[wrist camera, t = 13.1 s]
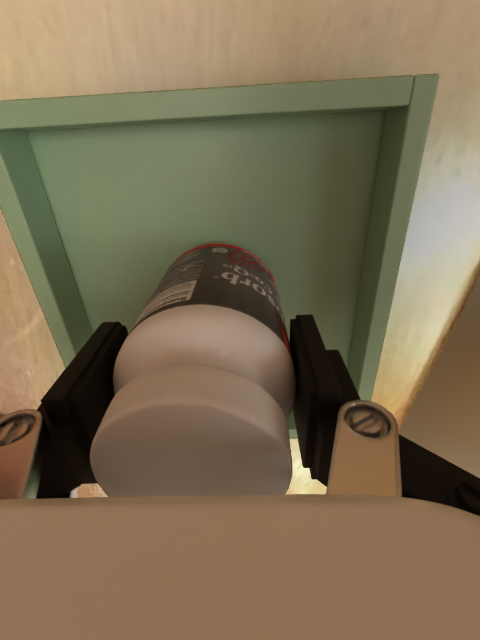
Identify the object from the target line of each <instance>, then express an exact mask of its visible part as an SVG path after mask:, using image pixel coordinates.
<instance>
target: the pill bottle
mask: <svg viewBox="0 0 480 640" xmlns="http://www.w3.org/2000/svg"><path fill="white" fill-rule="evenodd" d="M113 388H114V395H115V396H114V398H113V399H112V401H111V403H110V405H109V407H108V409H107V411H106V413H105V415H104V417H103V419H102V421H101V424H100V426H99V428H98V430H97V432H96V435H95V437H94V439H93V441H92V446H91V450H90V464H91V468H92V472H93V474H94V477H95V479H96V481H97V482H98V484H99V486H100V487H101V488H102V490H103V491H104V492H105V493H106V494H107V495H108V496H109V497H147V496H207V495H285V493H286V491H287V490H288V488H289V485H290V482H291V478H292V457H291V449H290V441H289V428H288V423H287V420H288V418H289V416H290V414H291V411H292V408H293V405H294V402H295V396H296V374H295V367H294V362H293V357H292V353H291V349H290V344H289V339H288V335H287V330H286V325H285V320H284V316H283V311H282V306H281V301H280V296H279V291H278V287H277V284H276V281H275V279H274V277H273V275H272V273H271V271H270V269H269V268H268V267H267V265H266V264H265V263H264V262H263V261H262V260H261V259H260V258H259V257H258V256H257V255H255V254H254V253H252V252H251V251H249V250H247V249H245V248H243V247H240V246H238V245H234V244H230V243H221V242H215V243H207V244H202V245H199V246H196V247H194V248H191V249H189V250H188V251H186V252H185V253H183V254H182V255H181V256H179V257H178V258H177V259H176V260H175V261H174V262H173V263H172V265H171V266H170V267H169V269H168V270H167V272H166V274H165V275H164V277H163V279H162V280H161V282H160V283H159V285H158V287H157V289H156V290H155V292H154V293H153V295H152V297H151V298H150V300H149V301H148V303H147V305H146V307H145V308H144V310H143V311H142V313H141V315H140V316H139V318H138V320H137V321H136V323H135V324H134V326H133V328H132V329H131V331H130V332H129V334H128V336H127V338H126V339H125V341H124V343H123V345H122V347H121V349H120V351H119V353H118V356H117V358H116V362H115V366H114V372H113Z"/></svg>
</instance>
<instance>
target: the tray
mask: <svg viewBox="0 0 480 640" xmlns="http://www.w3.org/2000/svg"><path fill="white" fill-rule="evenodd" d="M438 80H439V74H423V75H415V76H413V75H405V76H389V77H373V78H357V79H341V80H324V81H308V82H292V83H276V84H260V85H244V86H228V87H212V88H196V89H180V90H164V91H148V92H131V93H115V94H99V95H83V96H67V97H51V98H35V99H19V100H3V101H0V208H1V210H2V213H3V215H4V218H5V220H6V223H7V225H8V227H9V230H10V232H11V235H12V237H13V240H14V242H15V245H16V247H17V250H18V252H19V255H20V257H21V260H22V262H23V264H24V267H25V269H26V272H27V274H28V277H29V279H30V282H31V284H32V287H33V289H34V292H35V294H36V297H37V299H38V301H39V304H40V306H41V309H42V311H43V314H44V316H45V319H46V321H47V324H48V326H49V329H50V331H51V334H52V336H53V338H54V341H55V343H56V346H57V348H58V351H59V353H60V356H61V358H62V361H63V363H64V366H65V368H67V366H68V365H69V364H70V363H71V361H72V360H73V359H74V357H75V356H76V355H77V354H78V352H79V351H80V350H81V349H82V347H83V346H84V345H85V343H86V342H87V341H88V340H89V338H90V337H91V336H92V334H93V333H94V332H95V331H96V329H97V328H98V327H99V326H100V324H101V323H102V322H120V323H121V324H122V325H125V326H126V328H127V331H128V334H129V332H130V331H131V329H132V328H133V326H134V324H135V323H136V321H137V320H138V318H139V316H140V315H141V313H142V311H143V310H144V308H145V307H146V305H147V303H148V301H149V300H150V298H151V297H152V295H153V293H154V292H155V290H156V289H157V287H158V285H159V283H160V282H161V280H162V279H163V277H164V275H165V274H166V272H167V270H168V269H169V267H170V266H171V265H172V263H173V262H174V261H175V260H176V259H177V258H178V257H179V256H181V255H182V254H183V253H185V252H186V251H188V250H189V249H191V248H194V247H196V246H199V245H202V244H207V243H215V242H221V243H230V244H234V245H238V246H240V247H243V248H245V249H247V250H249V251H251V252H252V253H254V254H255V255H257V256H258V257H259V258H260V259H261V260H262V261H263V262H264V263H265V264H266V265H267V267H268V268H269V269H270V271H271V273H272V275H273V277H274V279H275V281H276V284H277V287H278V291H279V296H280V301H281V306H282V311H283V316H284V320H285V325H286V330H287V335H288V339H289V341H290V320H291V319H296V315H308V314H312V315H313V317H314V320H315V322H316V325H317V327H318V330H319V333H320V335H321V338H322V340H323V343H324V345H325V348H326V350H335V349H337V350H338V351H339V352H340V354H341V356H342V359H343V361H344V363H345V365H346V368H347V370H348V372H349V374H350V376H351V379H352V381H353V383H354V385H355V388H356V390H357V392H358V394H359V397H360V399H361V400H366V401H371V399H372V394H373V389H374V384H375V380H376V375H377V370H378V365H379V361H380V356H381V351H382V346H383V342H384V337H385V332H386V327H387V322H388V318H389V313H390V308H391V303H392V299H393V294H394V289H395V284H396V280H397V275H398V270H399V265H400V261H401V256H402V251H403V246H404V242H405V237H406V232H407V227H408V223H409V218H410V213H411V208H412V203H413V199H414V194H415V189H416V184H417V180H418V175H419V170H420V165H421V161H422V156H423V151H424V146H425V142H426V137H427V132H428V127H429V123H430V118H431V113H432V108H433V104H434V99H435V94H436V89H437V85H438ZM287 423H288V428H289V439H298V436H297V431H296V425H295V419H294V414H293V408H292V411H291V414H290V416H289V418H288V420H287Z"/></svg>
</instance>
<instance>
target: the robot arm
mask: <svg viewBox="0 0 480 640" xmlns="http://www.w3.org/2000/svg"><path fill="white" fill-rule="evenodd" d="M127 336H128V331H127V328H126V326H125V325H122V324H121V323H120V322H102V323H101V324H100V326H99V327H98V328H97V329H96V331H95V332H94V333H93V334H92V336H91V337H90V338H89V340H88V341H87V342H86V343H85V345H84V346H83V347H82V349H81V350H80V351H79V352H78V354H77V355H76V356H75V357H74V359H73V360H72V361H71V363H70V364H69V365H68V366H67V368H66V369H65V370H64V372H63V373H62V374H61V375H60V377H59V378H58V379H57V380H56V382H55V383H54V384H53V386H52V387H51V388H50V389H49V391H48V392H47V393H46V394H45V396H44V397H43V398H42V400H41V402H42V404H41V405H40V406H39V408H38V409H37V410H34V409H24V410H18V411H15V412H12V413H9V414H7V415H5V416H3V417H1V418H0V640H480V478H478V477H476V476H474V475H472V474H470V473H469V472H467V471H465V470H463V469H461V468H459V467H458V466H456V465H454V464H452V463H450V462H448V461H447V460H445V459H443V458H441V457H439V456H438V455H436V454H434V453H432V452H430V451H428V450H427V449H425V448H423V447H421V446H419V445H417V444H416V443H414V442H412V441H410V440H408V439H406V438H405V437H403V436H401V435H399V434H398V425H397V421H396V419H395V418H394V416H393V415H392V413H390V412H389V411H388V410H387V409H386V408H384V407H383V406H381V405H379V404H377V403H374V402H371V401H366V400H361V399H360V397H359V394H358V392H357V390H356V388H355V385H354V383H353V381H352V379H351V376H350V374H349V372H348V370H347V368H346V365H345V363H344V361H343V359H342V356H341V354H340V352H339V351H338V350H337V349H335V350H326V348H325V345H324V343H323V340H322V338H321V335H320V333H319V330H318V327H317V325H316V322H315V320H314V317H313V315H312V314H308V315H296V319H291V320H290V341H289V344H290V349H291V353H292V357H293V362H294V367H295V374H296V396H295V402H294V405H293V414H294V419H295V425H296V431H297V436H298V442H299V448H300V453H301V459H302V464H303V467H304V468H310V473H311V479H318V481H320V482H321V483H322V484H324V485H325V486H326V487H327V491H326V495H321V494H293V495H207V496H147V497H92V498H77V495H78V488H77V487H78V486H80V485H81V484H91V483H98V482H97V481H96V479H95V477H94V474H93V472H92V468H91V464H90V450H91V446H92V441H93V439H94V437H95V435H96V432H97V430H98V428H99V426H100V424H101V421H102V419H103V417H104V415H105V413H106V411H107V409H108V407H109V405H110V403H111V401H112V399H113V398H114V396H115V395H114V388H113V372H114V366H115V362H116V358H117V356H118V353H119V351H120V349H121V347H122V345H123V343H124V341H125V339H126V338H127Z"/></svg>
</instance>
